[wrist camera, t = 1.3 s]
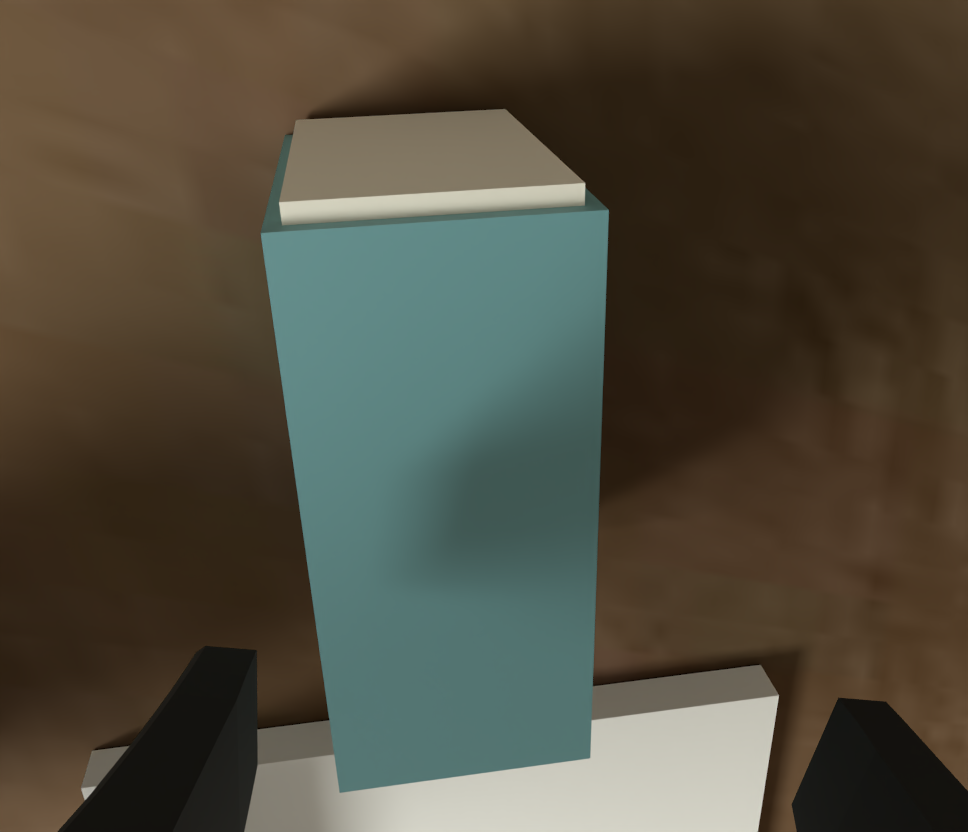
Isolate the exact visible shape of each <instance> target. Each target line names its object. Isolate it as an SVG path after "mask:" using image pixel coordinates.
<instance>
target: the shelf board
mask: <svg viewBox="0 0 968 832" xmlns="http://www.w3.org/2000/svg"><path fill="white" fill-rule="evenodd" d="M778 699H779V694H778V693H777V691H776V689H775V688H774V686H773V684H772V683H771V681H770V679H769V678H768V676H767V674H766V673H765V671H764V669H763V668H762V666H761V665H755V666H747V667H739V668H731V669H724V670H716V671H708V672H700V673H692V674H685V675H677V676H669V677H661V678H654V679H646V680H638V681H630V682H623V683H615V684H607V685H599V686H593V694H592V723H591V753H590V758H589V759H582V760H575V761H567V762H560V763H553V764H546V765H538V766H531V767H524V768H517V769H509V770H502V771H495V772H488V773H480V774H473V775H466V776H459V777H451V778H444V779H437V780H430V781H422V782H415V783H408V784H401V785H393V786H386V787H379V788H372V789H364V790H357V791H350V792H343V793H340V792H339V785H338V778H337V771H336V764H335V757H334V750H333V742H332V735H331V728H330V721H329V720H327V721H319V722H312V723H304V724H296V725H288V726H281V727H273V728H265V729H257V742H258V766H257V771H256V776H255V781H254V786H253V791H252V796H251V801H250V806H249V811H248V816H247V821H246V826H245V831H244V832H758V827H759V820H760V814H761V808H762V801H763V795H764V788H765V782H766V776H767V769H768V763H769V756H770V750H771V744H772V737H773V731H774V724H775V718H776V712H777V705H778ZM128 747H129V746H125V747H117V748H110V749H102V750H94V751H92V753H91V756H90V760H89V763H88V766H87V770H86V773H85V776H84V780H83V783H82V786H81V790H82V793H83V796H84V799H85V800H86V799H87V798H88V796H89V795H90V794H91V793H92V792H93V790H94V789H95V788H96V787H97V786H98V784H99V783H100V782H101V781H102V779H103V778H104V777H105V776H106V774H107V773H108V772H109V771H110V769H111V768H112V767H113V766H114V764H115V763H116V762H117V761H118V760H119V758H120V757H121V756H122V755H123V753H124V752H125V751H126V750H127V748H128Z"/></svg>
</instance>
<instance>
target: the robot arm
mask: <svg viewBox="0 0 968 832" xmlns="http://www.w3.org/2000/svg"><path fill="white" fill-rule="evenodd" d="M257 766H258V742H257V650H247V649H235V648H223V647H210V646H205V647H203V648H202V649H201V650H199V651H198V652H196V653H195V655H194V657H193V658H192V660H191V661H190V663H189V664H188V666H187V667H186V669H185V671H184V672H183V673H182V675H181V676H180V678H179V679H178V681H177V682H176V684H175V685H174V687H173V688H172V689H171V691H170V692H169V694H168V695H167V697H166V698H165V699H164V701H163V702H162V703H161V705H160V706H159V708H158V709H157V710H156V712H155V713H154V714H153V716H152V717H151V718H150V720H149V721H148V722H147V724H146V725H145V726H144V728H143V729H142V730H141V732H140V733H139V734H138V736H137V737H136V738H135V740H134V741H133V742H132V743H131V745H130V746H129V747H128V748H127V750H126V751H125V752H124V753H123V755H122V756H121V757H120V758H119V760H118V761H117V762H116V763H115V764H114V766H113V767H112V768H111V769H110V771H109V772H108V773H107V774H106V776H105V777H104V778H103V779H102V781H101V782H100V783H99V784H98V786H97V787H96V788H95V789H94V790H93V792H92V793H91V794H90V795H89V796H88V798H87V799H86V800H85V801H84V802H83V804H82V805H81V806H80V807H79V808H78V809H77V810H76V812H75V813H74V814H73V815H72V816H71V817H70V818H69V819H68V821H67V822H66V823H65V824H64V825H63V826H62V827H61V828H60V830H59V831H58V832H244V831H245V826H246V821H247V816H248V811H249V806H250V801H251V796H252V791H253V786H254V781H255V776H256V771H257ZM792 808H793V814H794V819H795V824H796V829H797V832H968V791H967V790H966V789H965V788H964V787H963V785H962V784H961V783H960V782H959V781H958V780H957V779H956V778H955V777H954V776H953V774H952V773H951V772H950V771H949V770H948V769H947V768H946V767H945V766H944V764H943V763H942V762H941V761H940V760H939V759H938V758H937V757H936V756H935V754H934V753H933V752H932V751H931V750H930V749H929V748H928V747H927V746H926V745H925V743H924V742H923V741H922V740H921V739H920V738H919V737H918V736H917V735H916V733H915V732H914V731H913V730H912V729H911V728H910V727H909V726H908V725H907V724H906V723H905V722H904V720H903V719H902V718H901V717H900V716H899V715H898V714H897V713H896V712H895V711H894V710H893V709H892V708H891V707H890V706H889V705H888V704H887V702H883V701H871V700H859V699H846V698H838V700H837V702H836V705H835V707H834V709H833V711H832V714H831V716H830V718H829V721H828V723H827V725H826V727H825V730H824V732H823V734H822V736H821V739H820V741H819V743H818V746H817V748H816V750H815V752H814V755H813V757H812V759H811V762H810V764H809V766H808V768H807V771H806V773H805V775H804V778H803V780H802V782H801V784H800V787H799V789H798V791H797V793H796V796H795V798H794V800H793V803H792Z"/></svg>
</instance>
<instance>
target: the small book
mask: <svg viewBox="0 0 968 832" xmlns="http://www.w3.org/2000/svg"><path fill="white" fill-rule="evenodd" d="M608 221H609V210H608V209H607V208H606V207H605V206H604V205H603V204H602V203H601V202H600V201H599V200H598V199H597V198H596V197H595V196H594V195H593V194H591V193H590V192H589V191H588V190H587V189H586V188H585V182H584V181H583V180H581V179H580V178H579V177H578V176H577V175H576V174H575V173H574V172H573V171H572V170H571V169H570V168H568V167H567V166H566V165H565V164H564V163H563V162H562V161H561V160H560V159H559V158H558V157H557V156H556V155H554V154H553V153H552V152H551V151H550V150H549V149H548V148H547V147H546V146H545V145H544V144H543V143H541V142H540V141H539V140H538V139H537V138H536V137H535V136H534V135H533V134H532V133H531V132H530V131H528V130H527V129H526V128H525V127H524V126H523V125H522V124H521V123H520V122H519V121H518V120H517V119H515V118H514V117H513V116H512V115H511V114H510V113H509V112H508V111H507V110H506V109H495V110H476V111H457V112H438V113H419V114H400V115H381V116H363V117H344V118H325V119H306V120H296V123H295V128H294V132H293V135H285V138H284V142H283V146H282V150H281V154H280V158H279V162H278V166H277V170H276V174H275V178H274V182H273V186H272V190H271V194H270V198H269V202H268V206H267V210H266V214H265V218H264V222H263V226H262V230H261V239H262V246H263V253H264V260H265V267H266V274H267V281H268V288H269V295H270V302H271V310H272V317H273V324H274V331H275V338H276V345H277V352H278V359H279V366H280V373H281V381H282V388H283V395H284V402H285V409H286V416H287V423H288V430H289V437H290V444H291V451H292V459H293V466H294V473H295V480H296V487H297V494H298V501H299V508H300V515H301V522H302V530H303V537H304V544H305V551H306V558H307V565H308V572H309V579H310V586H311V593H312V601H313V608H314V615H315V622H316V629H317V636H318V643H319V650H320V657H321V664H322V671H323V679H324V686H325V693H326V700H327V707H328V714H329V721H330V728H331V735H332V742H333V750H334V757H335V764H336V771H337V778H338V785H339V792H340V793H343V792H350V791H357V790H364V789H372V788H379V787H386V786H393V785H401V784H408V783H415V782H422V781H430V780H437V779H444V778H451V777H459V776H466V775H473V774H480V773H488V772H495V771H502V770H509V769H517V768H524V767H531V766H538V765H546V764H553V763H560V762H567V761H575V760H582V759H589V758H590V753H591V723H592V694H593V664H594V635H595V605H596V576H597V546H598V516H599V487H600V457H601V428H602V398H603V369H604V339H605V310H606V280H607V251H608Z"/></svg>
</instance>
